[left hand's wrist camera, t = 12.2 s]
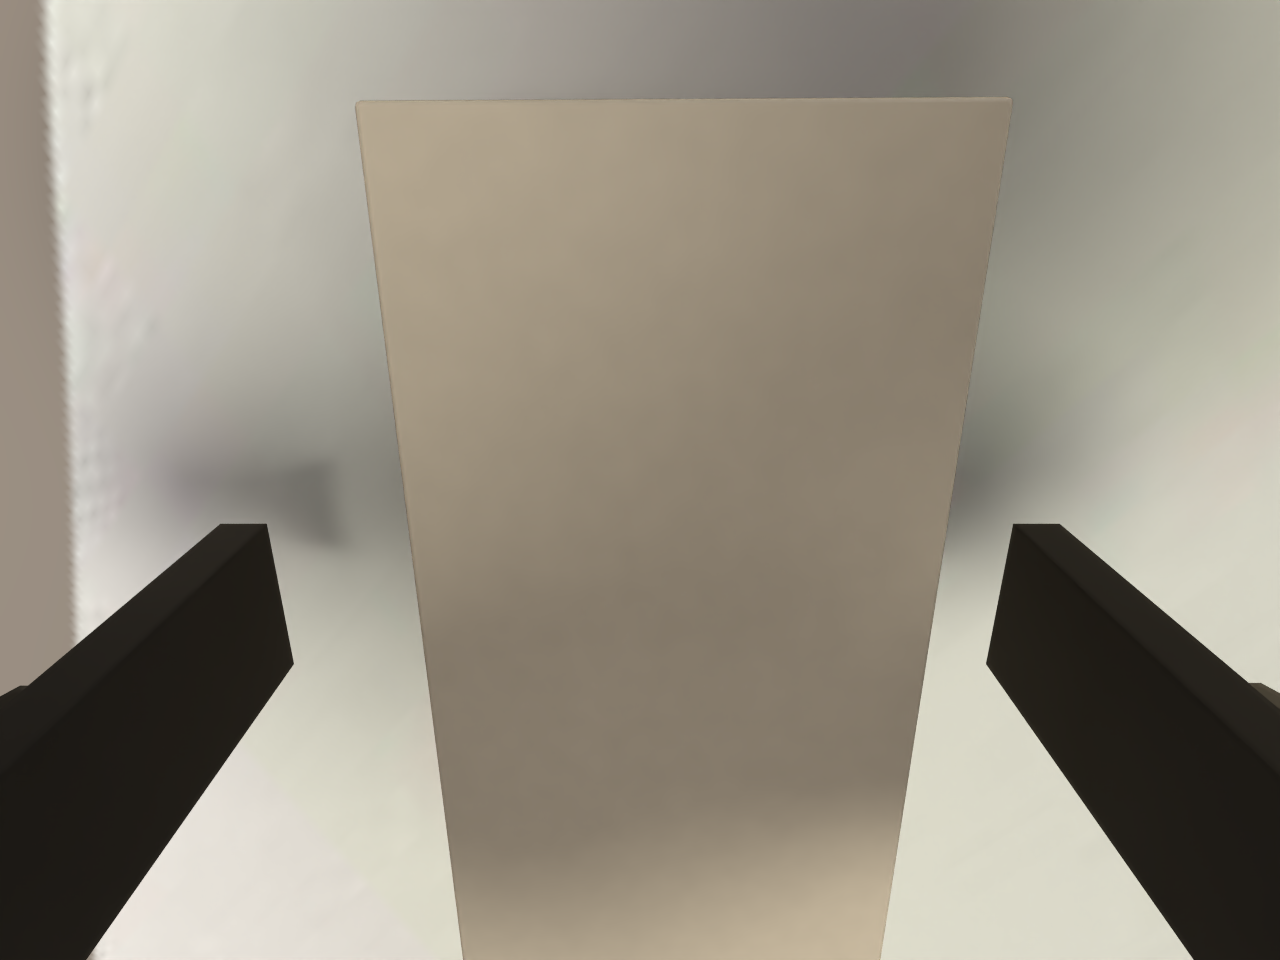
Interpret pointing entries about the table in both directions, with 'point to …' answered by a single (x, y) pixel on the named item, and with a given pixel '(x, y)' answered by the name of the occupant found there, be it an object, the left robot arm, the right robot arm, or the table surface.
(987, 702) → the table surface
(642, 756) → the bar
